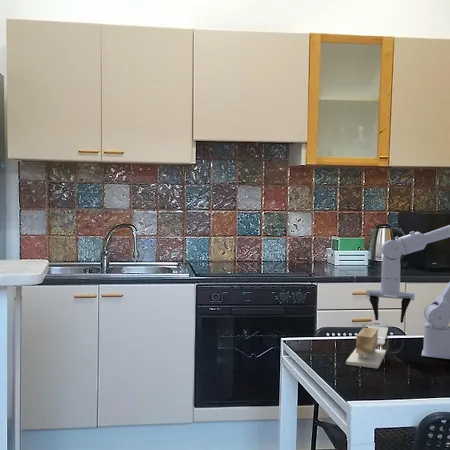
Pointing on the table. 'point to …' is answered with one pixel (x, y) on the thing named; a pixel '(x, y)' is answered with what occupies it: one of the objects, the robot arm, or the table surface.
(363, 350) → the tan block
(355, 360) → the peg rack
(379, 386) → the table surface
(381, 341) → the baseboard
